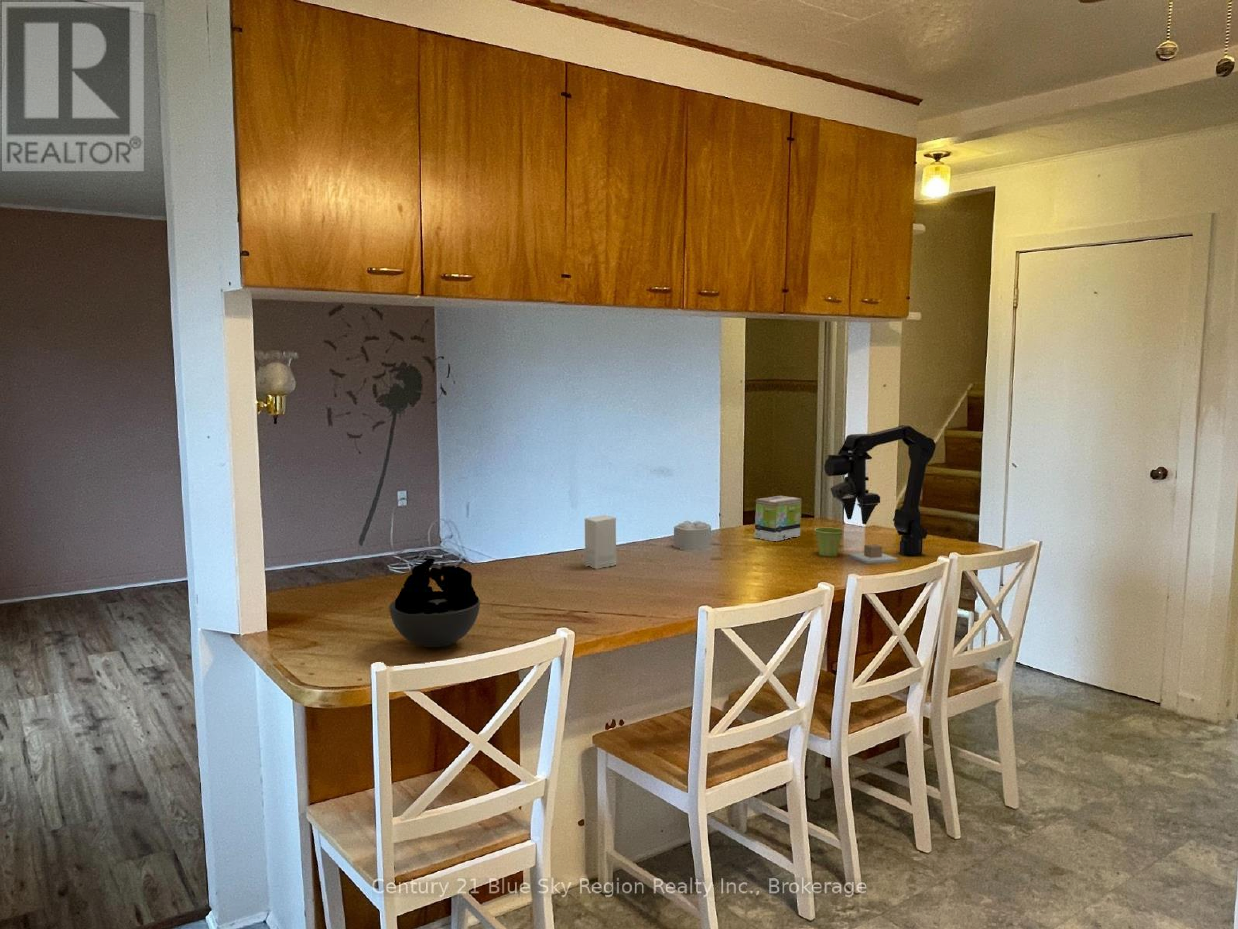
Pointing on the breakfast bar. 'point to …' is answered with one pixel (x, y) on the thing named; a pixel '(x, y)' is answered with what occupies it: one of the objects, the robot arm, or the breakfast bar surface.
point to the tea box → (777, 518)
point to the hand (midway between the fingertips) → (856, 521)
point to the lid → (873, 555)
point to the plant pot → (828, 540)
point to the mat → (871, 563)
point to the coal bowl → (435, 606)
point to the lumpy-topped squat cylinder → (692, 535)
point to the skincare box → (600, 541)
